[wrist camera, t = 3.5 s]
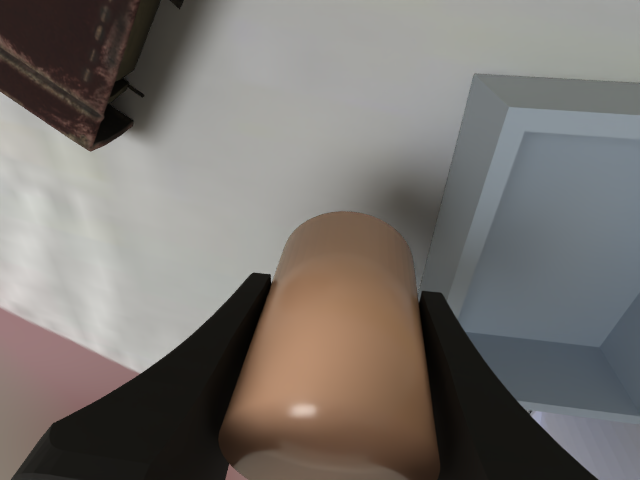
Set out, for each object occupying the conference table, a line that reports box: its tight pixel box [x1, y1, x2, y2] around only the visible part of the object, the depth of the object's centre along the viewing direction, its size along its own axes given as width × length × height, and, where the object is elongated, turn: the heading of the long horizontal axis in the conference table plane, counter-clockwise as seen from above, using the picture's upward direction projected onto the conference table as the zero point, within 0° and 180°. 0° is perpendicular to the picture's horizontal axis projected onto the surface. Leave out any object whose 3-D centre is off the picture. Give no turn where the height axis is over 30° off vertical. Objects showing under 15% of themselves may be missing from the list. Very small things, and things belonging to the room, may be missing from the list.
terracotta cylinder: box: [218, 211, 440, 480], centre depth 11 cm, size 5×5×7 cm
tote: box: [418, 74, 640, 425], centre depth 20 cm, size 18×14×6 cm
